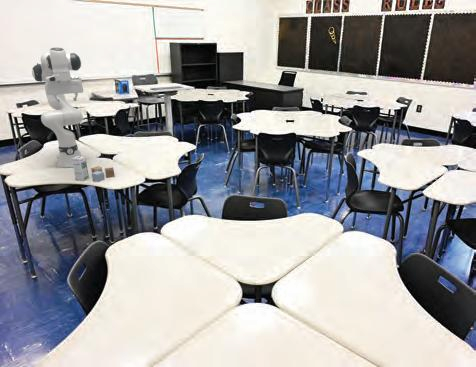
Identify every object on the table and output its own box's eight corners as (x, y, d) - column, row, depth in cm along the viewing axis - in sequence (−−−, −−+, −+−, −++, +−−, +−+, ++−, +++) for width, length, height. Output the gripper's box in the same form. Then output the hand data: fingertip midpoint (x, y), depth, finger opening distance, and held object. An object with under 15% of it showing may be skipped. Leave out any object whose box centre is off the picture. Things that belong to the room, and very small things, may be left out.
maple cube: (92, 174, 230) (90, 167, 228) (99, 172, 234) (98, 165, 232) (95, 176, 227) (94, 169, 225) (103, 174, 231) (101, 167, 229)
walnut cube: (105, 175, 228) (104, 168, 227) (113, 174, 230) (112, 167, 229) (106, 178, 224) (105, 170, 222) (114, 176, 226) (113, 169, 224)
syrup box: (83, 180, 220) (79, 158, 214) (75, 180, 221) (71, 158, 215) (89, 177, 225) (85, 156, 220) (81, 177, 226) (77, 155, 221)
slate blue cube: (92, 180, 220) (91, 173, 218) (98, 178, 224) (97, 170, 222) (98, 182, 218) (97, 174, 216) (104, 179, 222) (103, 172, 220)
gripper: (80, 76, 212) (83, 99, 217) (42, 78, 202) (47, 102, 207) (82, 76, 208) (86, 100, 213) (44, 78, 197) (49, 103, 202)
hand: (66, 101), depth 210 cm, fingers open, 8 cm apart
